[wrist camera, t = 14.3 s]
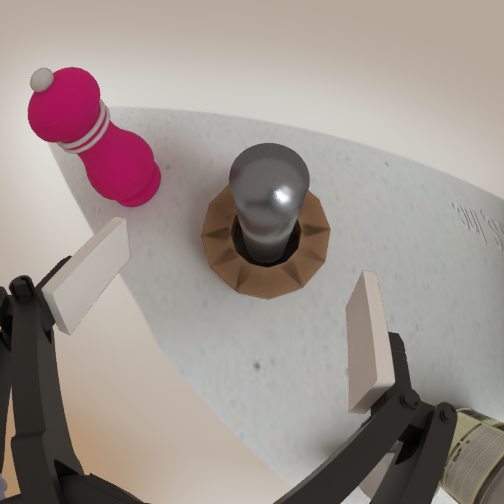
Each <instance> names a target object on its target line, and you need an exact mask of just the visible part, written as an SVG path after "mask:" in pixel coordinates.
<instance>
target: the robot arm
mask: <svg viewBox="0 0 504 504" xmlns="http://www.w3.org/2000/svg"><path fill="white" fill-rule="evenodd" d="M129 259H130V250H129V242H128V233H127V223H126V218H122V217H117V216H115V217H114V218H113V219H111V220H110V221H109V222H108V223H107V224H106V225H105V226H104V227H103V228H102V229H100V230H99V231H98V232H97V233H96V234H95V235H94V236H93V237H92V238H91V239H90V240H89V241H88V242H87V243H86V244H85V245H84V246H83V247H81V248H80V249H79V250H78V251H77V253H75V255H74V256H68V257H66V258H65V259H63V260H61V261H60V262H59V263H58V264H57V265H56V266H55V268H53V269H52V270H51V271H50V273H48V274H47V275H46V276H45V277H44V278H43V279H42V281H41V282H40V283H39V284H38V285H37V286H36V287H34V285H33V282H32V280H31V278H30V277H29V276H26V275H23V276H19V277H17V278H15V279H14V280H12V282H11V283H10V285H9V290H10V292H11V294H12V295H8V294H7V292H6V290H5V288H4V287H0V327H1V330H0V504H149V503H144V502H142V501H141V500H139V499H138V498H136V497H135V496H134V495H132V494H131V493H129V492H127V491H125V490H123V489H121V488H119V487H118V486H116V485H114V484H111V483H109V482H108V481H105V480H103V479H101V478H99V477H97V476H95V475H93V474H92V473H90V475H85V474H84V471H83V469H82V466H81V464H80V462H79V460H78V459H77V457H76V455H75V453H74V451H73V447H72V443H71V439H70V436H69V432H68V427H67V423H66V418H65V414H64V408H63V403H62V397H61V391H60V385H59V378H58V370H57V362H56V354H55V342H54V331H53V328H52V326H53V325H54V324H55V322H56V325H57V327H58V329H59V330H60V331H62V332H64V333H66V334H68V335H71V334H72V332H73V331H74V330H75V328H76V327H77V325H78V324H79V323H80V321H81V320H82V318H83V317H84V316H85V314H86V313H87V312H88V310H89V309H90V308H91V307H92V305H93V304H94V303H95V301H96V300H97V299H98V297H99V296H100V294H101V293H102V292H103V291H104V290H105V288H106V287H107V286H108V284H109V283H110V282H111V281H112V280H113V278H114V277H115V276H116V274H117V273H118V272H119V271H120V270H121V268H122V267H123V266H124V265H125V264H126V262H127V261H128V260H129ZM346 319H347V337H348V365H349V412H351V413H362V414H365V413H366V412H367V411H368V410H369V409H370V408H371V416H370V417H369V418H368V419H367V420H366V421H365V422H363V423H362V424H361V427H360V428H359V429H358V430H357V431H356V432H355V433H354V434H353V435H352V436H351V437H350V438H349V439H348V440H347V441H346V442H345V443H344V444H343V445H342V446H341V447H340V448H339V449H338V450H337V451H336V452H335V453H334V454H332V455H331V456H330V457H329V458H328V459H327V460H326V461H325V462H324V463H323V464H321V465H320V466H319V467H318V468H317V469H316V470H315V471H314V472H312V473H311V474H310V475H309V476H308V477H306V478H305V479H304V480H303V481H302V482H300V483H299V484H298V485H297V486H295V487H294V488H293V489H292V490H290V491H289V492H288V493H286V494H285V495H284V496H282V497H281V498H280V499H279V500H277V501H276V502H274V503H273V504H340V503H341V502H342V501H343V500H344V499H345V498H346V497H347V496H348V495H349V494H350V493H351V492H352V491H353V490H354V489H355V488H356V487H357V486H358V485H359V484H360V483H361V482H362V481H363V480H364V479H365V478H366V477H367V476H368V474H369V473H370V472H371V471H372V470H373V469H374V468H375V467H376V465H377V464H378V463H379V462H380V461H381V459H382V458H383V457H384V456H385V455H386V453H387V452H388V451H389V450H390V448H391V447H392V446H393V445H394V443H395V442H396V441H397V440H398V441H400V443H399V446H398V448H397V450H396V453H395V455H394V457H393V459H392V461H391V463H390V465H389V468H388V470H387V472H386V474H385V476H384V478H383V480H382V481H381V483H380V485H379V487H378V489H377V491H376V493H375V495H374V496H373V498H372V500H371V502H370V503H369V504H431V502H432V499H433V497H434V495H435V492H436V489H437V487H438V484H439V481H440V479H441V476H442V473H443V470H444V467H445V464H446V461H447V458H448V454H449V451H450V448H451V444H452V441H453V437H454V433H455V429H456V425H457V420H458V415H457V411H456V410H455V408H454V407H453V406H452V405H451V404H450V403H446V402H443V403H440V404H439V405H437V406H436V407H434V406H432V405H429V404H427V403H424V402H422V401H420V398H419V395H418V394H417V393H416V391H415V390H413V389H412V388H411V382H410V376H409V370H408V364H407V361H406V359H407V358H406V354H405V348H404V342H403V341H402V339H401V337H400V336H399V334H398V333H392V332H388V330H387V324H386V319H385V313H384V308H383V303H382V299H381V294H380V289H379V285H378V280H377V276H376V273H373V272H368V271H364V270H363V271H362V273H361V275H360V278H359V280H358V282H357V284H356V287H355V289H354V291H353V293H352V295H351V298H350V300H349V302H348V304H347V306H346ZM11 385H12V400H13V412H14V420H15V429H16V434H15V436H14V437H12V439H11V450H12V455H13V461H14V466H15V471H16V475H17V480H18V484H19V488H20V492H21V494H18V495H15V496H12V497H9V498H5V495H4V491H6V490H7V483H6V481H5V480H4V479H3V478H2V475H1V473H2V468H3V462H4V452H5V434H6V422H7V413H8V405H9V398H10V391H11Z"/></svg>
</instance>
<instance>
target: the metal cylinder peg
mask: <svg viewBox="0 0 504 504" xmlns="http://www.w3.org/2000/svg"><path fill="white" fill-rule="evenodd" d="M229 181H230V187H231V191H232V195H233V199H234V202H235V206H236V210H237V214H238V218H239V222H240V225H241V229H242V233H243V237H244V241H245V244H246V248H247V251H248V253H249V255H250V256H251V257H252V258H253V259H254V260H256V261H258V262H261V263H270V262H273V261H276V260H277V259H278V258H280V257H281V255H282V254H283V252H284V250H285V247H286V245H287V242H288V240H289V237H290V235H291V232H292V230H293V227H294V225H295V222H296V220H297V217H298V214H299V212H300V209H301V207H302V204H303V202H304V199H305V196H306V194H307V191H308V188H309V181H310V179H309V172H308V169H307V166H306V164H305V162H304V161H303V159H302V158H301V157H300V156H299V155H298V154H297V153H296V152H295V151H293V150H292V149H290V148H288V147H286V146H283V145H279V144H274V143H263V144H258V145H255V146H252V147H250V148H248V149H246V150H245V151H243V152H242V153H241V154H240V155H239V156H238V157H237V158H236V160H235V161H234V163H233V165H232V167H231V170H230V176H229Z"/></svg>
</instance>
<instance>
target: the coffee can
mask: <svg viewBox="0 0 504 504" xmlns="http://www.w3.org/2000/svg"><path fill="white" fill-rule="evenodd" d="M456 411H457V415H458V420H457V425H456V429H455V433H454V437H453V441H452V444H451V448H450V451H449V454H448V458H447V461H446V464H445V467H444V470H443V473H442V476H441V479H440V481H439V483H440V487H441V488H442V489H443V490H444V491H445V492H446V493H448V494H449V495H450V496H451V497H452V498H453V499H454V500H455V501H456V502H458V503H459V504H504V423H502V422H500V421H497V420H495V419H493V418H490V417H488V416H485V415H483V414H481V413H478V412H476V411H474V410H472V409H470V408H460V409H456Z"/></svg>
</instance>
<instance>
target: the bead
mask: <svg viewBox="0 0 504 504" xmlns="http://www.w3.org/2000/svg"><path fill="white" fill-rule="evenodd" d="M240 227H241V225H240V222H239V218H238V214H237V210H236V206H235V202H234V199H233V195H232V191H231V187H230V184H229V185H228V186H227V187H226V188H225V189H224V190H223V191H222V192H221V193H220V194H219V195H218V196H217V197H216V198H215V199H214V200H213V201H212V202H211V203H210V204H209V207H208V211H207V215H206V218H205V222H204V226H203V230H202V234H201V237H202V241H203V244H204V248H205V251H206V255H207V258H208V262H209V265H210V268H211V269H212V270H213V271H214V272H215V273H217V274H218V275H219V276H220V277H221V278H222V279H223V280H224V281H225V282H226V283H227V284H228V285H229V286H230V287H232V288H233V289H234V290H235V291H236V292H238V293H241V294H245V295H250V296H254V297H259V298H264V299H268V300H269V299H272V298H275V297H278V296H281V295H284V294H287V293H290V292H293V291H296V290H299V289H301V288H303V287H304V286H305V284H306V283H307V282H308V281H309V280H310V279H311V278H312V276H313V275H314V274H315V273H316V272H317V271H318V269H319V268H320V267H321V266H322V265H323V264H324V262H325V259H326V253H327V247H328V241H329V235H330V230H331V229H330V227H329V224H328V221H327V219H326V216H325V214H324V211H323V209H322V206H321V203H320V201H319V199H318V198H317V197H316V196H314V195H313V194H312V193H311V192H310V191H307V194H306V196H305V199H304V202H303V204H302V207H301V209H300V212H299V214H298V217H297V220H296V222H295V225H294V227H293V230H292V231H293V234H294V237H295V240H296V244H295V249H294V254H293V255H292V256H291V257H290V258H289V259H288V260H287V262H285V263H282V264H278V265H275V266H272V267H269V268H267V267H262V266H257V265H253V264H249V263H248V262H247V261H246V260H245V259H244V258H242V257H241V256H240V255H239V254H238V253H237V250H236V247H235V242H236V237H237V233H238V229H239V228H240Z"/></svg>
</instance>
